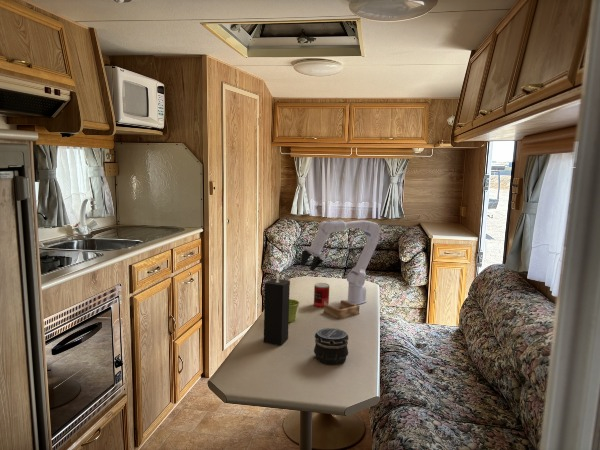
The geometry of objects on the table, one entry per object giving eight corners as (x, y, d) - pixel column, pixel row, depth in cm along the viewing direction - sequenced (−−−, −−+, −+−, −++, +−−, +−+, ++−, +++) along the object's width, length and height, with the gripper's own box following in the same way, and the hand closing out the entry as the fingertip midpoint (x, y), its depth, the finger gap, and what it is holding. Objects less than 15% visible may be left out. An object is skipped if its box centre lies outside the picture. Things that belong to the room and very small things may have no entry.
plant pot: (303, 320, 202) (303, 302, 201) (288, 325, 195) (289, 306, 194) (288, 315, 208) (289, 297, 207) (274, 320, 201) (274, 301, 200)
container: (313, 350, 169) (314, 326, 168) (346, 352, 169) (347, 327, 167) (313, 365, 156) (314, 339, 155) (349, 367, 156) (350, 340, 155)
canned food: (328, 303, 229) (329, 283, 227) (328, 308, 221) (329, 287, 219) (314, 302, 229) (315, 282, 228) (313, 307, 221) (314, 286, 220)
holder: (342, 307, 222) (342, 300, 222) (359, 314, 213) (359, 306, 213) (323, 312, 214) (323, 304, 213) (340, 319, 205) (340, 311, 205)
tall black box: (288, 338, 180) (290, 272, 176) (281, 346, 172) (283, 277, 169) (270, 336, 182) (272, 270, 178) (263, 342, 175) (264, 274, 171)
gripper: (304, 236, 223) (292, 260, 222) (322, 245, 212) (310, 270, 211) (313, 241, 227) (302, 264, 227) (331, 249, 216) (319, 274, 216)
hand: (306, 267), depth 219 cm, fingers open, 7 cm apart
